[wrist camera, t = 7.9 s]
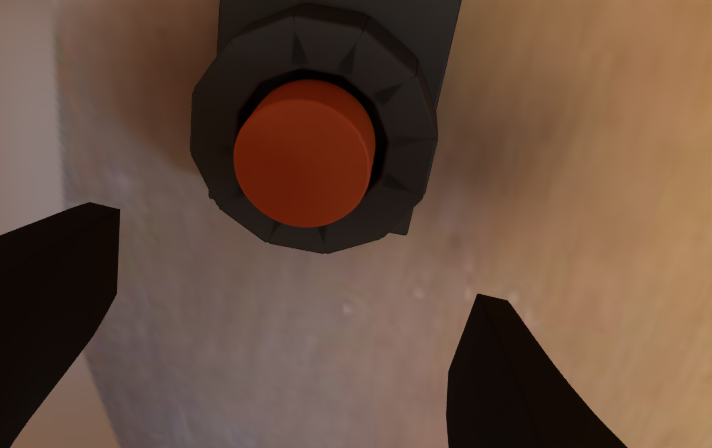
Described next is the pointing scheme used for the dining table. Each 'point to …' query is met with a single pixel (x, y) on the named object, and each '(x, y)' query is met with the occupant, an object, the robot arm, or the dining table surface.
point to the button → (306, 153)
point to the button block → (345, 69)
